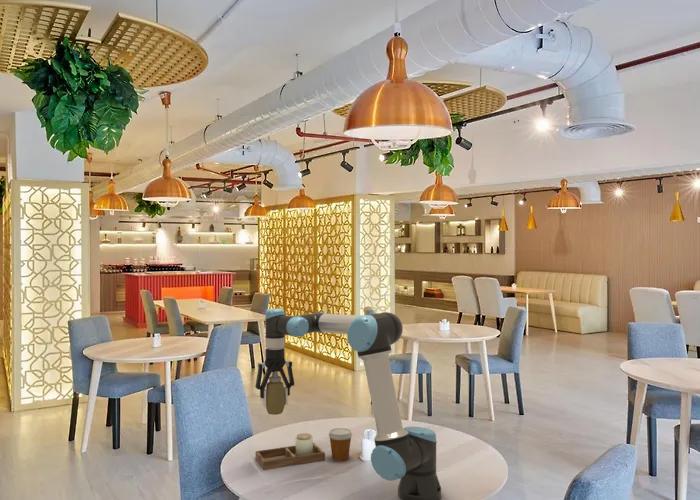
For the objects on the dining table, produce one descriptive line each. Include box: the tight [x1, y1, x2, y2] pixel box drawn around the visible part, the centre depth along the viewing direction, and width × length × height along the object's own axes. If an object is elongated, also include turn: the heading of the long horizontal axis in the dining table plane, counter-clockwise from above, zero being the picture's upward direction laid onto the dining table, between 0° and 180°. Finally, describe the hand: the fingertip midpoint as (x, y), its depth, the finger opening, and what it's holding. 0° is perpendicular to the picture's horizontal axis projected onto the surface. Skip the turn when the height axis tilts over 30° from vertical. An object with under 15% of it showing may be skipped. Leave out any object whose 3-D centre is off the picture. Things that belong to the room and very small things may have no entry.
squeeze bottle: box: [265, 371, 286, 416], centre depth 236 cm, size 8×8×18 cm
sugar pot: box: [295, 432, 314, 456], centre depth 241 cm, size 7×7×9 cm
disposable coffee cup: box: [328, 427, 353, 462], centre depth 240 cm, size 10×10×12 cm
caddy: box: [255, 442, 326, 471], centre depth 239 cm, size 13×25×4 cm, turn 113°
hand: (275, 404), depth 236 cm, fingers closed on squeeze bottle, 8 cm apart
